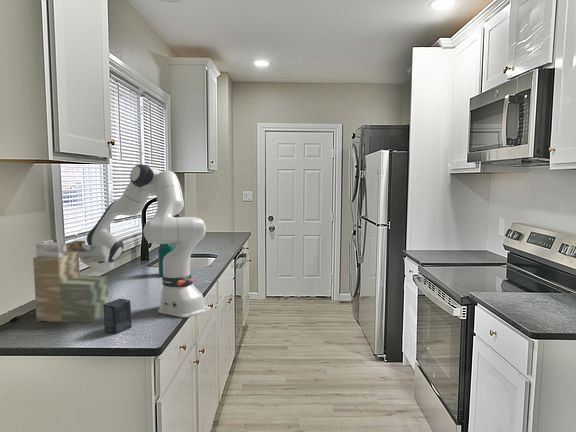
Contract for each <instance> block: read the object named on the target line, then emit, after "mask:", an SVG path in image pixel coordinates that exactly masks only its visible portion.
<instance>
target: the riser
mask: <svg viewBox="0 0 576 432" xmlns="http://www.w3.org/2000/svg"><path fill="white" fill-rule="evenodd" d="M32 260H33V261H32V262H33V276H34V277H33V280H34V294H35V295H34V296H35V315H36V322H40V321H47V322H46V323H49V322H51V323H81V324H82V323H85V324H90V323H93V322H95V321H97V320H98V319H99V318H101V317H102V316H103V317H104V306H103V304H106V303H109V302H110V301H109V282H108V281H109V280H108V277H109V276H108V275H80V274H81V273H80V257H79V252H70V253H67V255H66V256H63V257H60V258H43V257H37V256H35V257H33V258H32Z"/></svg>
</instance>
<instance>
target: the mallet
mask: <svg viewBox="0 0 576 432" xmlns="http://www.w3.org/2000/svg"><path fill="white" fill-rule="evenodd" d="M80 243H84V244H86V240H75V241H71V242H67V243H66V242H41V243H37V244H35V247H36V248H35V250H36V252H35V253H36V257H43V258H60V257H63V256H66V255H67V253H70V252H73V251H76V250H80V249H83V248H81V247H80Z"/></svg>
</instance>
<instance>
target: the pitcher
mask: <svg viewBox="0 0 576 432" xmlns="http://www.w3.org/2000/svg"><path fill="white" fill-rule="evenodd" d="M175 248H176V245H175V244H172V243H171V244H159V247H158V249H157V253H158V255H157V256H158V257H157V259H158V261H157V262H158V277H161V278H162V276H163V258H164V257H165V255H166V254H168V253H169V252H171V251H173V250H174V249H175Z"/></svg>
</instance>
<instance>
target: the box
mask: <svg viewBox="0 0 576 432" xmlns="http://www.w3.org/2000/svg"><path fill="white" fill-rule="evenodd" d="M103 306H104V315H103V321H104V323H103V324H104V332H105V333H108V334H112V333H113V335H118V334H119V333H122V332H124V331H126V330H129V329H130V328H132V312H131V311H132V307H131V299H125V298H118V299H115V300H112V301H109V303H106V304H103Z"/></svg>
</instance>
